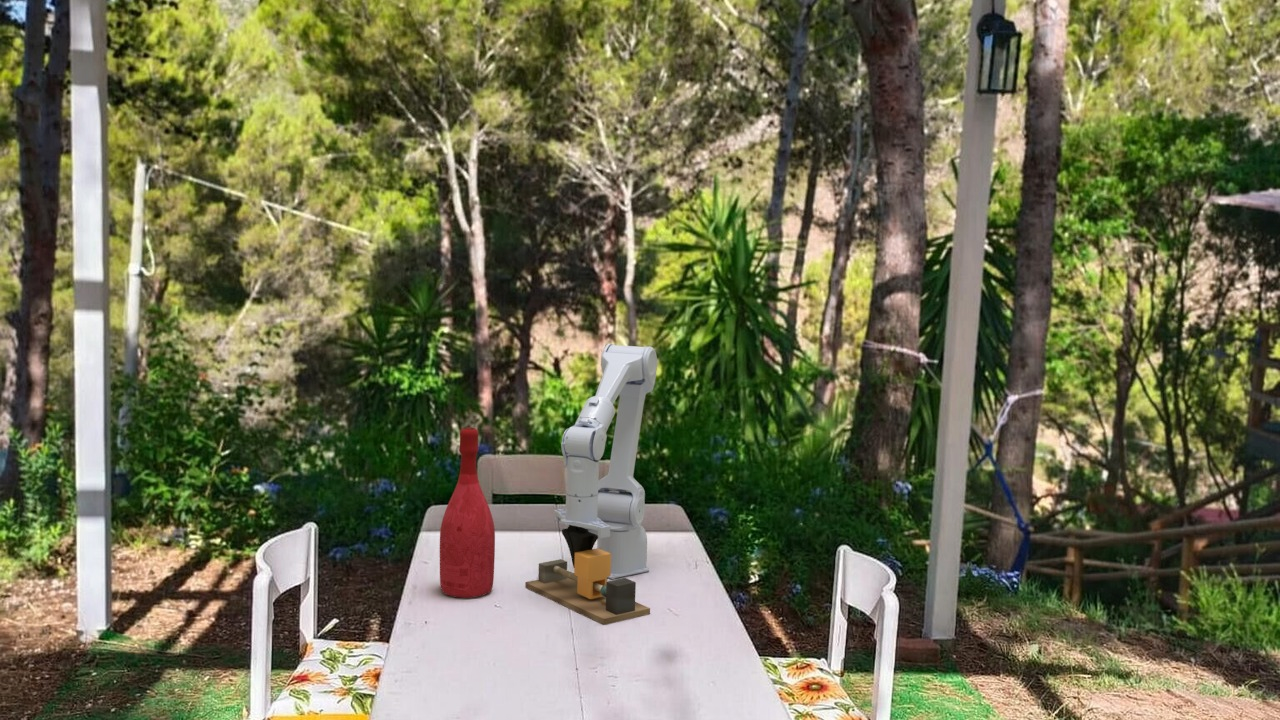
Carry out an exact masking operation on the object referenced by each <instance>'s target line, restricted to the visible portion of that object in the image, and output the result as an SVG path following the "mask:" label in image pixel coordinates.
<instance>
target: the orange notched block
mask: <svg viewBox="0 0 1280 720" xmlns="http://www.w3.org/2000/svg"><path fill="white" fill-rule="evenodd" d="M573 569H574V570H573V573H574V575H576V576H578V582H577V593H578V594H580V595H582V596H584V597H587V598H589V599H594V598H599V597H603V596H602V595H601V593H600V592H599V591H596V590H594V589H593V582H595V583H598V584H600V585H602V586H603V585H606V582H607V581H608V577H607V576H611V553H608V552H605V551H603V550H600V549H598V548H592V550H586V551H581V552H576V553H575V565H574V567H573Z"/></svg>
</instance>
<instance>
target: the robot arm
mask: <svg viewBox="0 0 1280 720" xmlns="http://www.w3.org/2000/svg"><path fill="white" fill-rule="evenodd" d="M657 358H658V357H657V352H656V350H655V348H654V347H652V346H650V345H649V346H636V345H635V346H633V345H621V344H613V343H608V344H606V345H605V347H604V348H603V350H602V351H601V356H600V367H601V373H602V375H601V379H600V382H599V384H598V387H597V390H596V392H595V395H594V396H590V397H589V398H587V400H586V401H585V403H584V405H583V407H582V409H581V411H580V413H579V416H578V417H577V419H576V420H575V423H574V424H573V425H572V426H570V427H569V428H566V429H565V431H564V432H563V435H562V438H561V444H560V447H561V448H560V449H561V453H562V456H563V466H564V468H565V469H566V476H565V477H566V479H565V481H566V482H565V483H566V484H565V509H564V508H561V509H560V508H559V509H554V510H553V521H554V522H560V524H561V525H564V526H567V528H563V529H562V530H561V535H562V536H563V537H564V540H565V541H566V544H567V547H568V550H569V554H570V559H571V563H572V567H573V568H574V565H575V553H576V552H581V551H586V550H592V549H594V546H595V544H596V545H597V548H598V549H600V550H603V551H605V552H608V553H611V576H607V579H611V580H614V579H619V578H624V577H627V576H632V575H636V574H641V573H646V572H649V571H650V570H649V568H648V567H647V561H648V560H647V559H648V558H647V557H648V535H647V533H646V532H647V531H646V529H645V528H644V527H643V526H642V525H641V524H642V523H643V520H644V517H645V511H646V505H645V504H646V503H645V499H646V498H645V497H646V493H645V492H646V491H645V489H644V487H643V486H642V484H640V482H638V481H637V480H636V479H635V477H634V473H635V465H636V460H637V453H638V452H637V451H638V446H639V438H640V432H641V425H642V417H643V412H644V406H645V400H646V395H647V394H649V393H650V392H652V391H653V390H654V387H655V384H656V377H657V370H658V359H657ZM618 397H619V400H618V407H617V412H616V410H615V406H614V403H615V401H616V400H617V398H618ZM616 413H617V414H616ZM615 414H616V420H615V427H614V431H613V432H614V434H613V440H612V446H611V447H612V448H611V454H610V461H609V468H608V472H607V473H608V474H606V475H605V476H604V477H602V478H599V474H600V471H599V470H600V460H601V458H602V457H603V456H604V454H605V448H606V442H607V437H608V436H607V431H608V429H609V427H610V425H611V423H612V421H613V419H614V417H615ZM613 491H614V492H613ZM630 493H631V494H630ZM596 542H597V543H596ZM597 548H596V549H597Z"/></svg>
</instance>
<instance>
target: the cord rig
mask: <svg viewBox="0 0 1280 720" xmlns="http://www.w3.org/2000/svg"><path fill="white" fill-rule="evenodd" d="M577 582H578V576H576V575H574V572H572V571H570V570H568V561H566V560H564V559H562V558H560V559H554V560H550V561H543V562H539V563H538V578H537V579H536V580H535V579H534V580H531V581H530V580H529V581H525V588H526V589H527V590H530V591H531V592H534V593H535V594H538V595H540V596H542V597H545V598H547V600H550V601H553V602H554V603H557V604H559V605H561V606H563V607H566V608H568V610H572V611H574V612H576V613H578V614H580V615H582V616H584V617H586V618H588V619H591V620H592V621H595V622H597V623H599V624H601V625H603V626H605V625H608V624H610V625H611V624H613V623H618V622H621V621H626V620H627V621H628V620H630V619H634V618H640V617H642V616H647V615H650V614H651V607H648V606H646V605H643V604H642V603H639V602H637V601H636V587H637V585H636V584H637V583H636V581H633V580H631V579H629V578H626V577H621V578H616V579H611V580H609V581H608V580H607V582H606V585H603V586H602V585H600V584H598V583H595V582H593V589H594V590H596V591H599V592H600V593H601V595H602V596H603V597H599V598H594V599H589V598H587V597H584V596H582V595H580V594H578V593H577Z"/></svg>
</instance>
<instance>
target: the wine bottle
mask: <svg viewBox="0 0 1280 720" xmlns="http://www.w3.org/2000/svg"><path fill="white" fill-rule="evenodd" d="M459 438H460V439H459V448H458V452H459V453H460V455H461V456H460V467H459V468H460V471H459V475H458V480H457V483H456V486H455V488H454V491H453V492H452V495H451V497H450V499H449V501H448V504H447V506H446V509H445V511H444V514H443V516H442V517H443V518H442V521H441V524H440V531H439V585H440V590H441V591H442V593H444V594H445V595H447V596H450V597H455V598H461V599H463V598H464V599H465V598H466V599H467V598H477V597H478V598H479V597H482V596H484V595H487V594H488V593H490V592H491V590H493V587H494V577H495V559H496V558H495V553H496V549H495V548H496V534H495V533H496V531H495V524H494V518H493V515H492V512H491V509H490V507H489V503H488V502H487V499H486V497H485V493H483V492H484V491H483V489H482V487H481V484H480V481H479V476H478V470H477V454H478V452H479V430H478V429H477V428H474V427H463V428H461V430H460V432H459Z"/></svg>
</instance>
